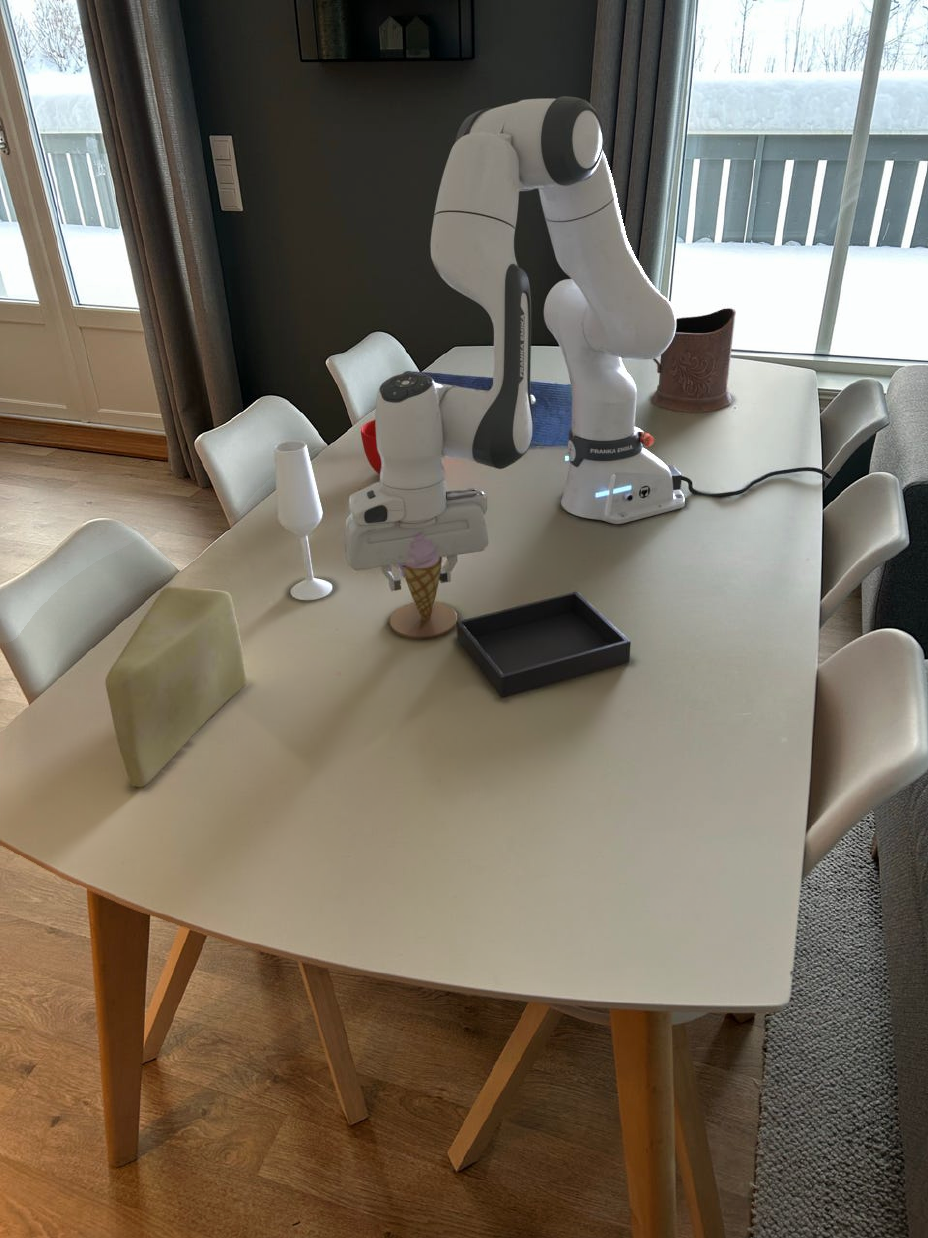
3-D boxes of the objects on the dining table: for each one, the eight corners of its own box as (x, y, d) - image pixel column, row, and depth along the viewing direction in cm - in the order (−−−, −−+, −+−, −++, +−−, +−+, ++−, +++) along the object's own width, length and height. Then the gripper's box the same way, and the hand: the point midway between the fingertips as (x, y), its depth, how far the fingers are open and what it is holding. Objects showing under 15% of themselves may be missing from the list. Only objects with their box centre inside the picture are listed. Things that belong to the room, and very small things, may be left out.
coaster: (448, 599, 140) (448, 596, 139) (464, 632, 131) (464, 629, 131) (384, 610, 138) (384, 607, 138) (397, 644, 129) (396, 641, 129)
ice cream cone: (411, 634, 131) (402, 543, 123) (394, 614, 136) (384, 525, 127) (452, 621, 133) (446, 530, 125) (434, 602, 138) (427, 513, 130)
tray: (575, 610, 136) (576, 591, 134) (629, 661, 123) (630, 641, 122) (457, 641, 130) (456, 621, 128) (501, 698, 118) (501, 677, 116)
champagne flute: (294, 579, 147) (272, 438, 135) (335, 578, 147) (316, 437, 134) (286, 600, 141) (262, 455, 129) (329, 599, 141) (308, 454, 129)
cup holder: (740, 410, 207) (754, 296, 194) (634, 413, 208) (641, 301, 195) (721, 385, 223) (733, 279, 210) (623, 389, 224) (629, 283, 211)
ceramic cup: (404, 499, 173) (400, 449, 167) (352, 475, 184) (347, 427, 178) (455, 479, 180) (453, 431, 174) (403, 457, 191) (399, 411, 186)
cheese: (175, 794, 104) (146, 689, 97) (99, 785, 106) (65, 681, 98) (251, 683, 123) (232, 586, 115) (185, 676, 125) (162, 581, 117)
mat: (589, 414, 216) (593, 372, 207) (582, 487, 198) (586, 445, 189) (404, 400, 221) (400, 359, 212) (380, 471, 203) (376, 429, 194)
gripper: (480, 478, 129) (483, 564, 136) (337, 497, 125) (347, 585, 132) (493, 495, 123) (495, 583, 131) (344, 516, 119) (354, 606, 127)
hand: (420, 584), depth 131 cm, fingers closed on ice cream cone, 6 cm apart
